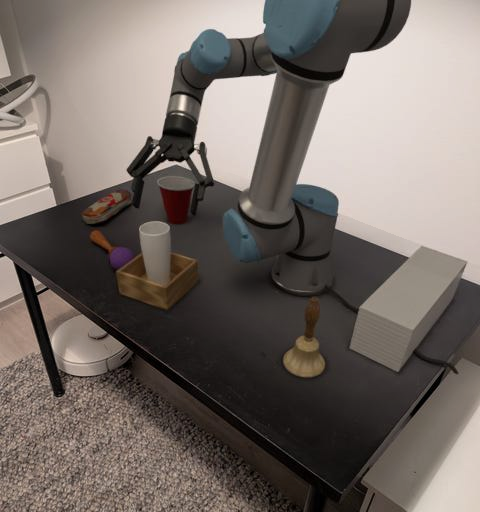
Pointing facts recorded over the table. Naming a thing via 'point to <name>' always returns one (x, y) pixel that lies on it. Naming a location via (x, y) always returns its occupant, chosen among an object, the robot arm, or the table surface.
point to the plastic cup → (176, 197)
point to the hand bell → (306, 347)
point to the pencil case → (107, 207)
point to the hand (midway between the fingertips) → (163, 210)
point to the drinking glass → (156, 251)
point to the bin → (155, 294)
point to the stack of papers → (406, 307)
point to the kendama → (113, 251)
